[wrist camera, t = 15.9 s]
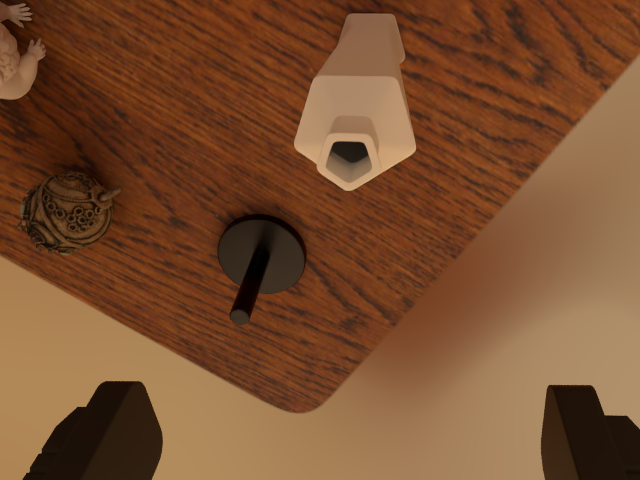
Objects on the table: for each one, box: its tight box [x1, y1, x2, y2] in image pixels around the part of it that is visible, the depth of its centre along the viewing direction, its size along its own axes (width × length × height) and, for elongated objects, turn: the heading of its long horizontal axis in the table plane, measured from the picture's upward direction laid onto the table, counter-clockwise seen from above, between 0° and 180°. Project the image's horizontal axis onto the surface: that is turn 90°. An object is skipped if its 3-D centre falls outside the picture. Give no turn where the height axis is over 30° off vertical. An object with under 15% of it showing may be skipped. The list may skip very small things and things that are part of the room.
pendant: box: [17, 171, 122, 256], centre depth 37 cm, size 5×8×5 cm, turn 119°
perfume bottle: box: [294, 13, 416, 191], centre depth 26 cm, size 5×4×15 cm
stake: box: [218, 214, 306, 325], centre depth 37 cm, size 6×6×7 cm
